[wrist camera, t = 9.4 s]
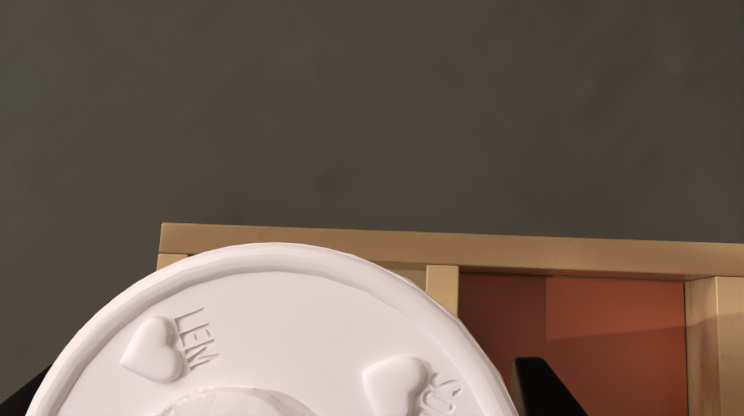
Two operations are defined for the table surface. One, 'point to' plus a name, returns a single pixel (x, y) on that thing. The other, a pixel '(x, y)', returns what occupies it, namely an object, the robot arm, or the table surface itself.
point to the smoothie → (273, 344)
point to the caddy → (562, 306)
